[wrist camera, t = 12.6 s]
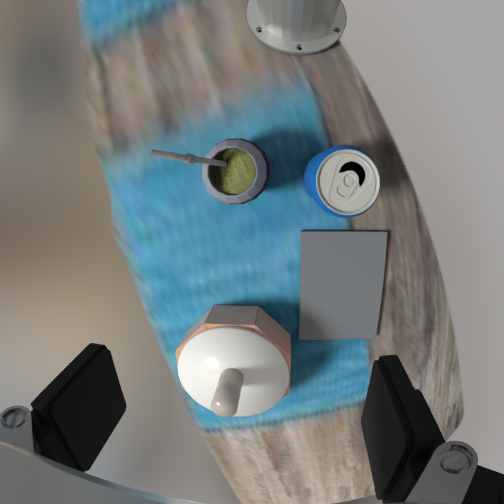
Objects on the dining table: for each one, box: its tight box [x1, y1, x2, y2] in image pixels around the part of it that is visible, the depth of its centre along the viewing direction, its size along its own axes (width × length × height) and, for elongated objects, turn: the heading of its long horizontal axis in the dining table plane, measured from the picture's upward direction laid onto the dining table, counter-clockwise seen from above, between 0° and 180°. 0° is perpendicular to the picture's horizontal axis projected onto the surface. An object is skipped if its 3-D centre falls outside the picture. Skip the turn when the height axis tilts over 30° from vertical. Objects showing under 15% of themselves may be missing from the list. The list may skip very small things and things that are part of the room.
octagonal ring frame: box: [175, 305, 291, 415], centre depth 42 cm, size 15×15×6 cm
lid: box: [178, 326, 289, 417], centre depth 36 cm, size 14×14×7 cm
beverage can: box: [303, 145, 380, 218], centre depth 31 cm, size 6×6×12 cm
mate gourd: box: [151, 139, 269, 204], centre depth 31 cm, size 8×8×15 cm
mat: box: [299, 231, 387, 340], centre depth 40 cm, size 15×11×1 cm
